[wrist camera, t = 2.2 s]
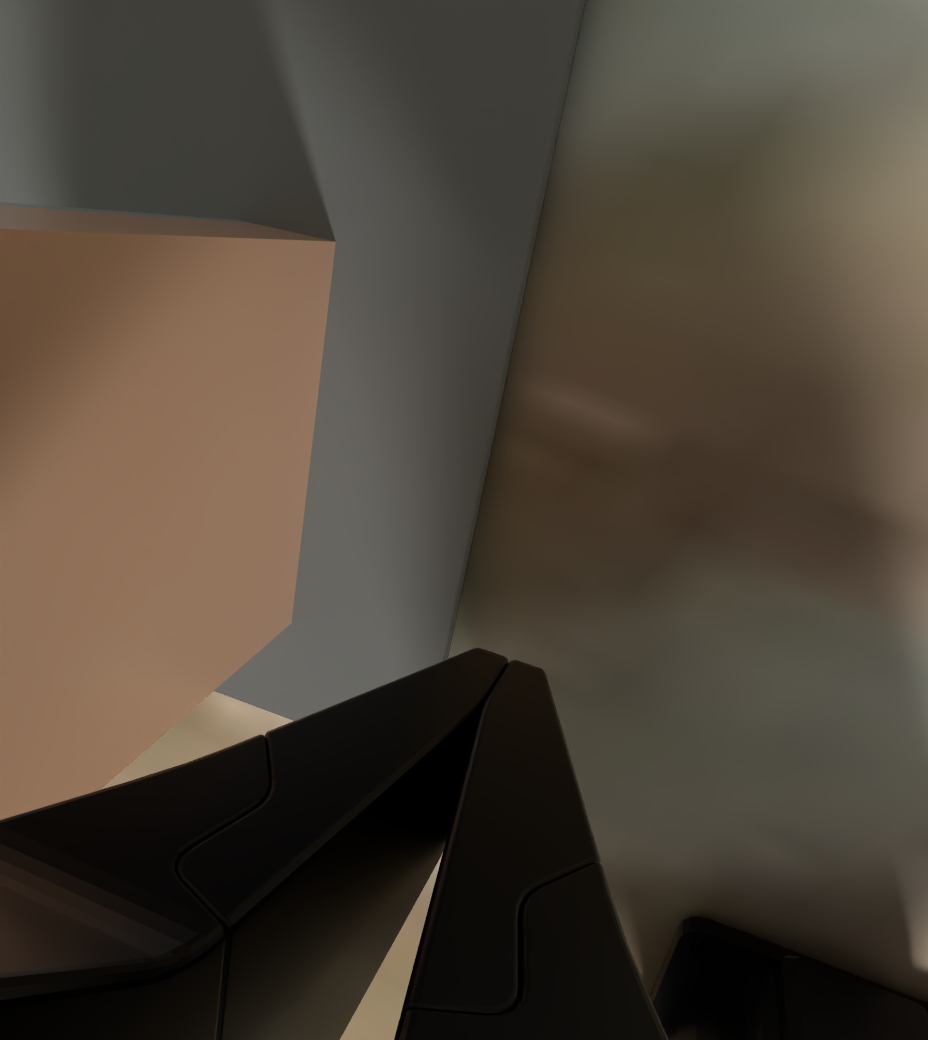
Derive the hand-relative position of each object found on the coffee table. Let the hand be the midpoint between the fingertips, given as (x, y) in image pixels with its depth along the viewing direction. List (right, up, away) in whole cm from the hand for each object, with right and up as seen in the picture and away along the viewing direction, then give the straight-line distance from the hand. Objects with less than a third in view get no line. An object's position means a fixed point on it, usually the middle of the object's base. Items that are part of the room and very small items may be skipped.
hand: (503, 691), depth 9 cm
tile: (-4, +4, +6) cm, 9 cm away
